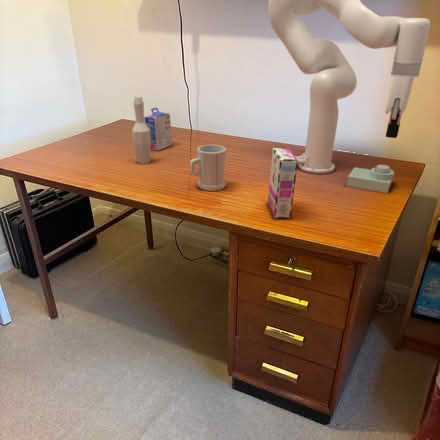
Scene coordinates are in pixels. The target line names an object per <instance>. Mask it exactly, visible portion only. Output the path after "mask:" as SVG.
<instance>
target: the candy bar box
mask: <svg viewBox="0 0 440 440" xmlns="http://www.w3.org/2000/svg"><path fill="white" fill-rule="evenodd" d="M271 152H272V153H271V162H270V172H269V173H270V176H269V184H268V186H269V187H268V197H267V204H268V207H269V210H270V211H271V214H272V216H273V218H274V219H291V218H292V211H293V202H294V195H295V187H296V179H297V170H298V165H299V163H298V160H297V158H296V157H297V156H296V155H295V154H294V153H293V152H292V150H291V149H290V148H289V147H272V151H271ZM295 156H296V157H295Z"/></svg>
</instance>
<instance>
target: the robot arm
mask: <svg viewBox="0 0 440 440" xmlns="http://www.w3.org/2000/svg"><path fill="white" fill-rule="evenodd" d="M322 9H324V10H326V11H327V12H329V14H331V15H332V16H334V17H335V18H336V19H337V20H339V21H340V22H341V25H342V27H343V28H344V30H345V31H346V32H347V33H348V34H349V35H350V36H351V37H352V38H354V39H355V40H356V41H357V42H359V43H361V44H362V45H364V46H365V47H367V48H369V49H373V50H377V49H385V48H394V47H395V51H394V56H393V62H392V66H391V71H390V72H391V73H390V76H392V77H393V78H392V82H391V85H390V90H389V94H388V99H387V103H386V107H385V110H384V112H385V114H386V115H387V114H389V113H390V115H389V120H388V123H387V128H386V133H385V137H386V138H391V139H396V138H398V134H399V130H400V125H401V118H402V115H403V114H404V112H405V111H406V109H407V106H408V103H409V99H410V96H411V92H412V88H413V84H414V79H415V78H419V76H420V72H421V69H422V64H423V60H424V55H425V51H426V46H427V42H428V38H429V33H430V30H431V20H430V19H429V18H424V17H402V16H397V15H392V16H390V15H386V16H380V15H378V14H377V13H375V12H374V11H372V10H371V9H369V8H368V7H367V6H365V5H364V4H363V2H362V0H268V5H267V15H268V20H269V23H270V26H271V28H272V29H273V31H274V32H275V34H276V36H277V37H278V39H280V41H281V42H282V44H283V45H284V48H286V50H287V52H288V54H289V55H290V57H291V58H292V59H293V61H294V63H295V64H296V65H297V68H298V69H299V70H300V72H302V73H303V74H304V75H314V77H313V78H312V79H311V82H310V85H309V116H308V123H307V124H308V125H307V132H306V139H305V140H306V141H305V148H304V152H302V154H301V155H298V156H297V155H294V156H295V157H296V158H297V160H298V168H299V169H300V170H301V171H304V172H306V173H310V174H311V173H312V174H329V173H332V172H334V171H335V169H336V165H335V163H333V162H332V160H333V159H332V158H333V153H334V148H335V147H334V146H335V140H336V136H337V135H336V134H337V127H338V123H339V122H338V121H339V105H338V103H339V102H338V100H341V99H345V98H348V97H349V96H351V95H352V94H353V93H354V91H355V90H356V88H357V84H358V83H357V81H358V80H357V75H356V72H355V71H354V68H353V67H352V66H351V64H350V63H349V61H348V59H347V58H346V57H345V55H344V53H343V52H342V50H341V49H340V48H339V46H338V45H337V44H336V43H335V42H333V41H331V40H329V39H320V40H319V39H316V38H315V36H314V35H313V34H312V32H311V31H310V30H309V28H308V26H307V25H306V23H304V22H303V20H301V19H300V18H299V17H298V16H304V15H305V16H306V15H309V14H313V13H315V12H317V11H320V10H322Z"/></svg>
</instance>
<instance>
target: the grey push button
mask: <svg viewBox="0 0 440 440" xmlns="http://www.w3.org/2000/svg"><path fill="white" fill-rule="evenodd" d="M375 167H376V172H378V173H389V169H390V170H391V168H390V166H389V165H387V164H377V165H376V166H375Z"/></svg>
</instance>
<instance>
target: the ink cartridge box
mask: <svg viewBox="0 0 440 440" xmlns="http://www.w3.org/2000/svg"><path fill="white" fill-rule="evenodd" d="M150 110H151V113H152V114H150V115H147V116H144V122H145V123H146V125H147V126H148V127H149V129H150V135H151V151H155V152H157V151H160V150H162V149H166V148H169V147H170V146H172V145H173V137H172V135H173V134H172V124H171V123H172V121H171V113H168V112H163V111H160V110H159V109H158V107H152V108H150Z"/></svg>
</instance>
